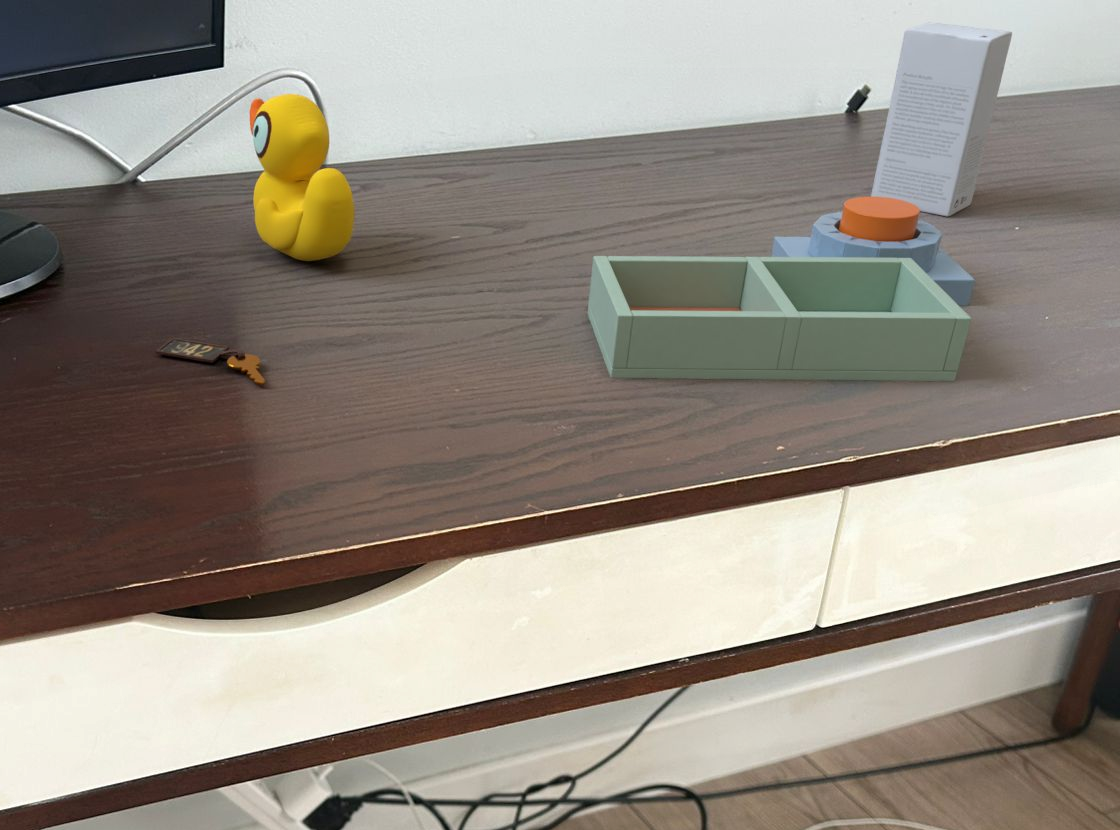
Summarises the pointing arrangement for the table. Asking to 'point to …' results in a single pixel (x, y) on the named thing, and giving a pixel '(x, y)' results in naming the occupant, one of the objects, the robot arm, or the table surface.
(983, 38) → the cosmetic box
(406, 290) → the table surface
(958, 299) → the button base
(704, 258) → the tray
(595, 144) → the table surface
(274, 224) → the duckling
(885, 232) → the button
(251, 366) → the key tag
